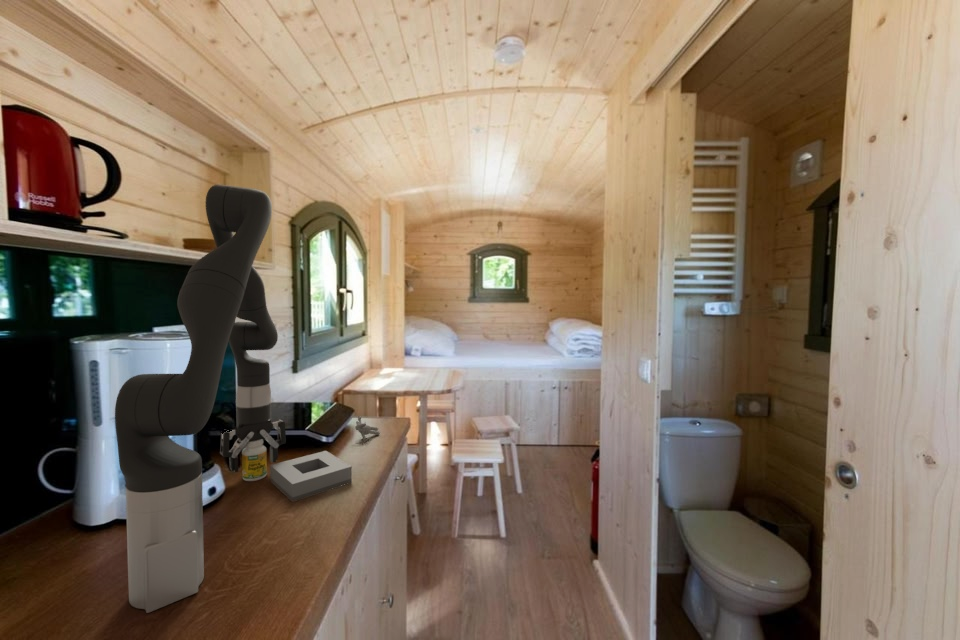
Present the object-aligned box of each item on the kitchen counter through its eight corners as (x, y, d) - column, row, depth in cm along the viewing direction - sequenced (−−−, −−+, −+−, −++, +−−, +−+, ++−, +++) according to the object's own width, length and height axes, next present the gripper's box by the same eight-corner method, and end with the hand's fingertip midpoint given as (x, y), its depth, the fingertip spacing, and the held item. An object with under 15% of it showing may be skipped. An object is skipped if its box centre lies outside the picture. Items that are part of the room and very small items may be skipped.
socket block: (351, 482, 100) (351, 466, 100) (292, 501, 90) (292, 484, 90) (325, 465, 110) (325, 450, 110) (270, 481, 100) (270, 465, 100)
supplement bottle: (263, 470, 106) (262, 434, 105) (269, 477, 102) (269, 439, 102) (239, 476, 102) (239, 438, 102) (245, 484, 98) (245, 444, 98)
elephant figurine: (387, 439, 132) (364, 435, 125) (375, 450, 133) (352, 447, 127) (379, 413, 138) (357, 409, 131) (368, 424, 139) (346, 420, 133)
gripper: (225, 410, 93) (226, 480, 94) (289, 400, 104) (290, 463, 104) (216, 404, 99) (217, 470, 100) (278, 395, 109) (279, 454, 110)
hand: (254, 466), depth 102 cm, fingers open, 8 cm apart
